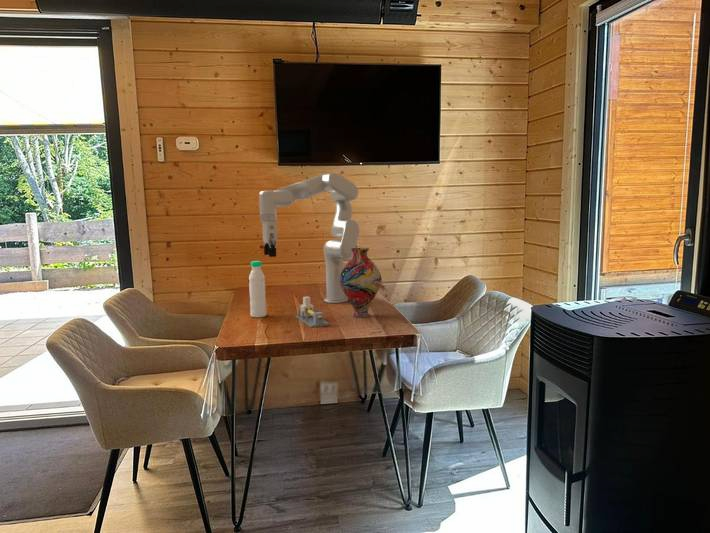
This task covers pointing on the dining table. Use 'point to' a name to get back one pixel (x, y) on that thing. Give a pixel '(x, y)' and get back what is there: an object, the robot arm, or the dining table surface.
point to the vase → (360, 281)
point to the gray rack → (312, 318)
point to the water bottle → (257, 290)
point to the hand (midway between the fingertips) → (270, 255)
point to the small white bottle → (306, 306)
